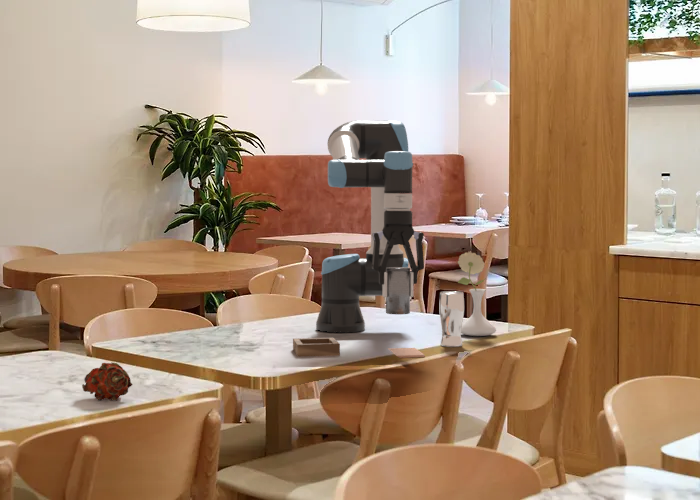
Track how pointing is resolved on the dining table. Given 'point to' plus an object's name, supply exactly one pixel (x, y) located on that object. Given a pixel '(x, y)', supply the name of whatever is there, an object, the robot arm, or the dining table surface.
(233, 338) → the dining table surface
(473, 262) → the flower in vase
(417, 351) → the pad
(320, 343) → the socket block
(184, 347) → the dining table surface
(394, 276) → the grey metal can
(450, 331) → the beer glass
